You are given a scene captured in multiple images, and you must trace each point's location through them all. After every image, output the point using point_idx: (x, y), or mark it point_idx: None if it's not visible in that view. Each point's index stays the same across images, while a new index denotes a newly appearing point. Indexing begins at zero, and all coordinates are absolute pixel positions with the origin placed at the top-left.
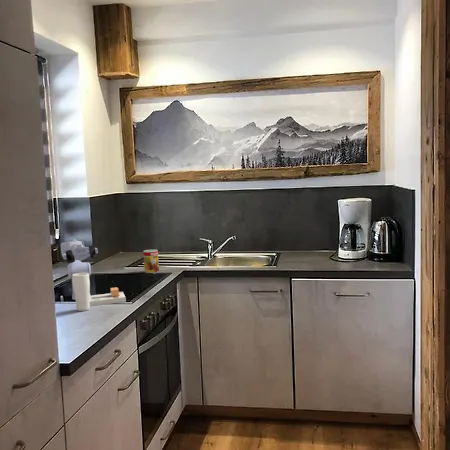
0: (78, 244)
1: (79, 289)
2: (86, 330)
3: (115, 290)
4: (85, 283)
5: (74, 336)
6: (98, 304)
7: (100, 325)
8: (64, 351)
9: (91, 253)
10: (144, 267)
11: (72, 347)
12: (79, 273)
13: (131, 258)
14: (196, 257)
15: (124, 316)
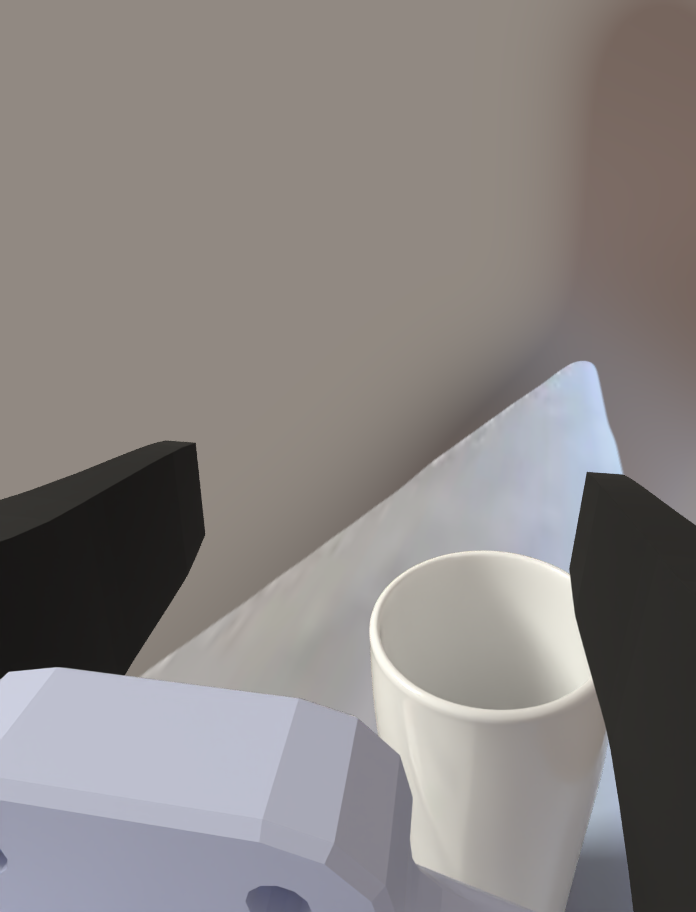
0: (165, 780)
1: (521, 684)
2: (513, 498)
3: None
4: (446, 633)
5: (568, 466)
6: None
7: (439, 523)
8: (598, 395)
9: (190, 445)
10: None
11: (573, 406)
12: (495, 714)
13: None
14: None
15: (280, 583)
